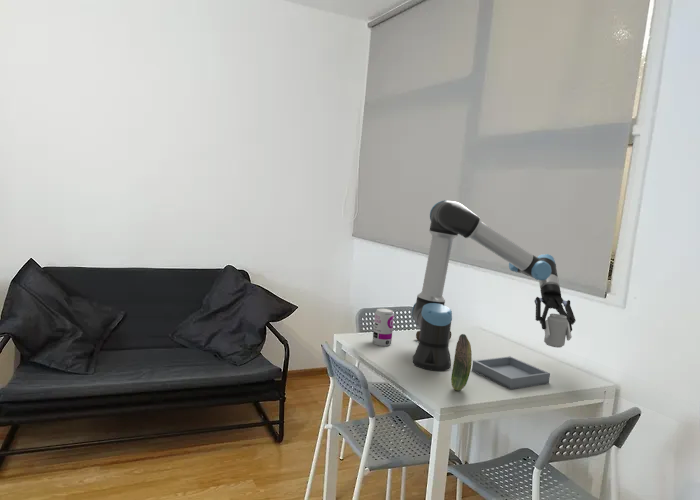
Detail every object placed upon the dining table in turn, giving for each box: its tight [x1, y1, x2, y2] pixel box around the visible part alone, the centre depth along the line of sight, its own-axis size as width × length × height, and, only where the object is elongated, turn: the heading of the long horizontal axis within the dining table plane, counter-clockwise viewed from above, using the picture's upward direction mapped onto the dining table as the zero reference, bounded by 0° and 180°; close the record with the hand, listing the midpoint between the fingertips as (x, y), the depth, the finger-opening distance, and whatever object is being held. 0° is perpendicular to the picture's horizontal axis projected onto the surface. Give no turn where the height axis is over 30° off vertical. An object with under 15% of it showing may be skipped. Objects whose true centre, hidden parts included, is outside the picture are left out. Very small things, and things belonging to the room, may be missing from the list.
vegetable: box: [450, 333, 473, 392], centre depth 179 cm, size 6×6×20 cm
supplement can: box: [372, 307, 395, 347], centre depth 227 cm, size 8×8×15 cm
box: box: [471, 355, 551, 390], centre depth 198 cm, size 20×20×4 cm
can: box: [543, 313, 568, 349], centre depth 201 cm, size 8×8×12 cm
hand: (558, 337), depth 198 cm, fingers closed on can, 7 cm apart
